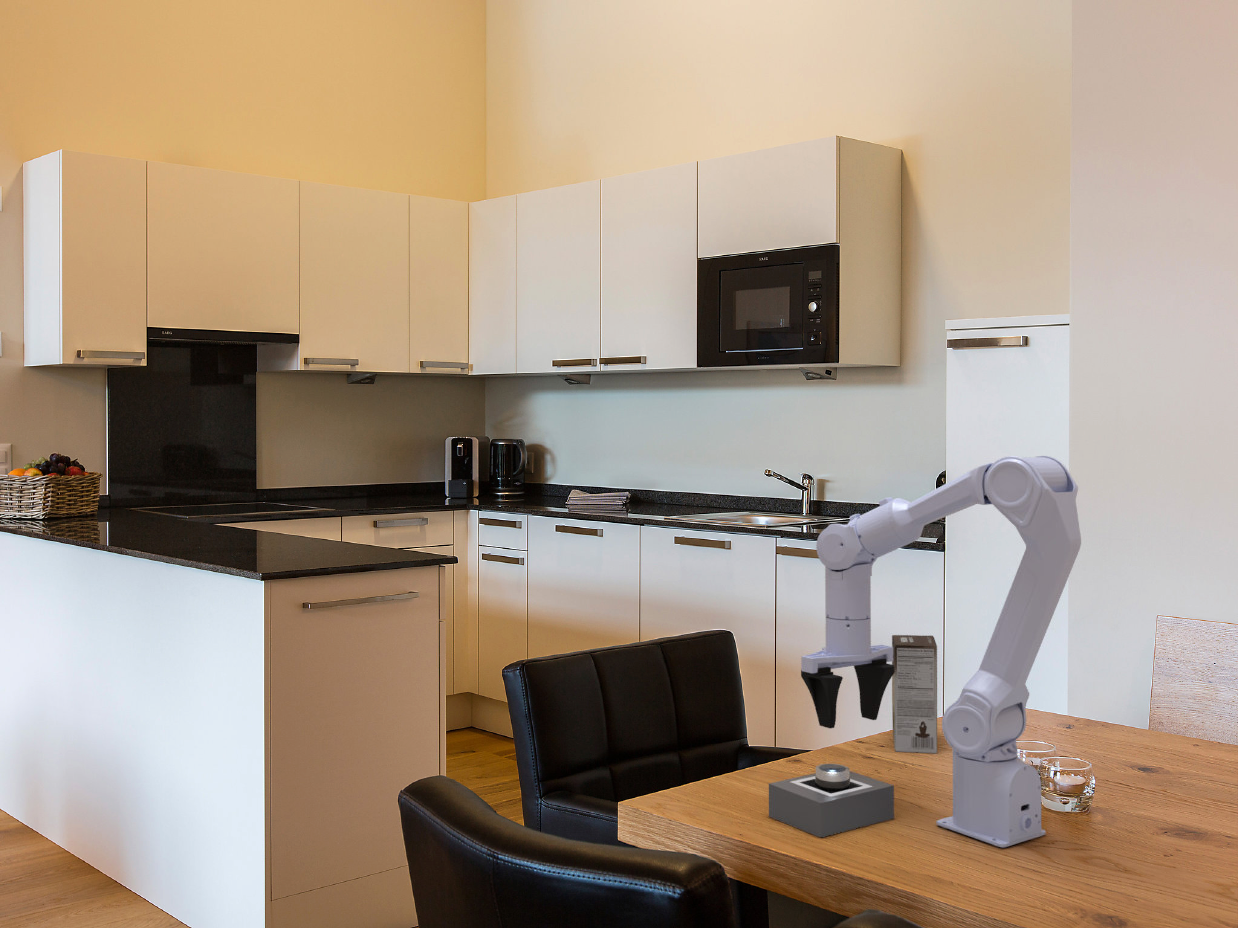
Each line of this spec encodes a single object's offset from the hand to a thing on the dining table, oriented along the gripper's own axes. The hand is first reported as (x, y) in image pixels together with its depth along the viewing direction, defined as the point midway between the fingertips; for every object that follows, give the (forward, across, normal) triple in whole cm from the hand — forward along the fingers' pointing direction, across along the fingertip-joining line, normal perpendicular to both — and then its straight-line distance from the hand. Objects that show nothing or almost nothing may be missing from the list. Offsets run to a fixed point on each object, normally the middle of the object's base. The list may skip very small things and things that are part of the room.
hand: (848, 722), depth 139 cm
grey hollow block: (+9, +8, +5) cm, 13 cm away
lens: (+9, +8, +5) cm, 13 cm away
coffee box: (+10, -26, -12) cm, 30 cm away
